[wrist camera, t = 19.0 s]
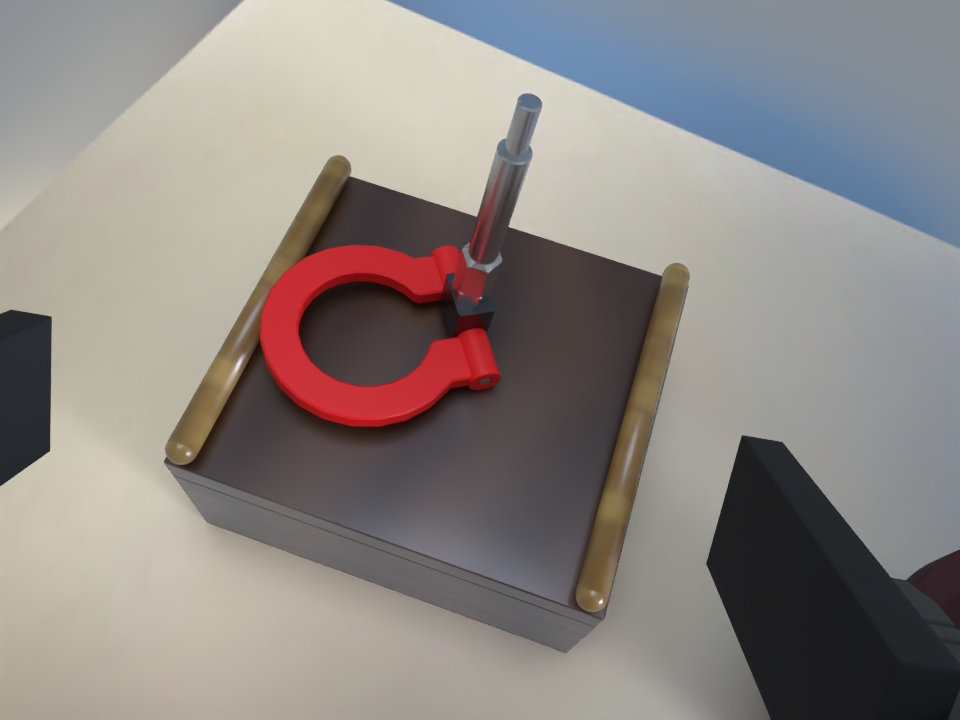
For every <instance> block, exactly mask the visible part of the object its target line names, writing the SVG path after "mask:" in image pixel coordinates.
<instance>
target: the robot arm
mask: <svg viewBox="0 0 960 720" xmlns="http://www.w3.org/2000/svg"><path fill="white" fill-rule="evenodd" d="M51 325H52V317H51V316H45V315H39V314H33V313H27V312H21V311H16V310H9V311H7V312H4V313H1V314H0V486H1V485H3V484H4V483H6V482H7V481H8V480H10V479H11V478H13V477H14V476H15V475H17V474H18V473H20V472H21V471H22V470H24V469H25V468H27V467H28V466H29V465H31V464H32V463H34V462H35V461H36V460H38V459H39V458H41V457H42V456H43V455H45V454H46V453H48V452H49V451H50V410H51ZM706 564H707V566H708V568H709V571H710V573H711V576H712V578H713V581H714V583H715V585H716V588H717V590H718V593H719V595H720V597H721V600H722V602H723V605H724V607H725V609H726V612H727V614H728V617H729V619H730V621H731V624H732V626H733V629H734V631H735V634H736V636H737V638H738V641H739V643H740V646H741V648H742V650H743V653H744V655H745V658H746V660H747V662H748V665H749V667H750V670H751V672H752V675H753V677H754V679H755V682H756V684H757V687H758V689H759V691H760V694H761V696H762V699H763V701H764V703H765V706H766V708H767V711H768V713H769V715H770V718H771V720H960V630H959V629H956V628H954V625H955V624H954V623H953V622H952V621H951V620H950V618H949V617H948V616H947V615H946V614H945V613H944V611H943V610H942V609H941V608H940V607H939V606H938V604H937V603H936V602H935V601H933V600H932V599H931V598H929V597H928V596H926V595H925V594H924V593H922V592H921V591H920V590H918V589H917V588H915V587H914V586H913V585H911V584H910V583H908V582H907V581H906V580H901V579H895V578H891V577H890V576H889V575H888V573H887V572H886V571H885V570H884V568H883V567H882V566H881V565H880V563H879V562H878V561H877V560H876V558H875V557H874V556H873V555H872V553H871V552H870V551H869V550H868V548H867V547H866V546H865V545H864V543H863V542H862V541H861V540H860V538H859V537H858V536H857V535H856V533H855V532H854V531H853V530H852V528H851V527H850V526H849V525H848V523H847V522H846V521H845V520H844V519H843V517H842V516H841V515H840V514H839V512H838V511H837V510H836V509H835V507H834V506H833V505H832V504H831V502H830V501H829V500H828V499H827V497H826V496H825V495H824V494H823V492H822V491H821V490H820V489H819V487H818V486H817V485H816V484H815V482H814V481H813V480H812V479H811V477H810V476H809V475H808V474H807V472H806V471H805V470H804V469H803V467H802V466H801V465H800V464H799V462H798V461H797V460H796V459H795V457H794V456H793V455H792V454H791V452H790V451H789V450H788V449H787V447H786V446H785V445H784V444H783V442H779V441H773V440H767V439H761V438H755V437H749V436H744V435H742V437H741V441H740V444H739V448H738V452H737V455H736V459H735V462H734V466H733V470H732V473H731V477H730V480H729V484H728V488H727V491H726V495H725V498H724V502H723V506H722V509H721V513H720V516H719V520H718V523H717V527H716V531H715V534H714V538H713V541H712V545H711V549H710V552H709V556H708V559H707V563H706Z"/></svg>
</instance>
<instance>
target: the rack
mask: <svg viewBox="0 0 960 720" xmlns="http://www.w3.org/2000/svg"><path fill="white" fill-rule="evenodd" d="M350 173H351V165H350V162H349V161H348V160H347V159H346V158H345V157H343V156H340V155H336V156H333V157H331V158H330V159H329V160H328V161H327V162H326V164H325V166H324V168H323V169H322V171H321V173H320V175H319V176H318V178H317V180H316V182H315V183H314V185H313V187H312V189H311V190H310V192H309V194H308V196H307V198H306V199H305V201H304V203H303V205H302V206H301V208H300V210H299V212H298V213H297V215H296V217H295V219H294V220H293V222H292V224H291V226H290V227H289V229H288V231H287V233H286V234H285V236H284V238H283V240H282V241H281V243H280V245H279V247H278V248H277V250H276V252H275V254H274V255H273V257H272V259H271V261H270V263H269V264H268V266H267V268H266V270H265V271H264V273H263V275H262V277H261V278H260V280H259V282H258V284H257V285H256V287H255V289H254V291H253V292H252V294H251V296H250V298H249V299H248V301H247V303H246V305H245V306H244V308H243V310H242V312H241V313H240V315H239V317H238V319H237V320H236V322H235V324H234V326H233V328H232V329H231V331H230V333H229V335H228V336H227V338H226V340H225V342H224V343H223V345H222V347H221V349H220V350H219V352H218V354H217V356H216V357H215V359H214V361H213V363H212V364H211V366H210V368H209V370H208V371H207V373H206V375H205V377H204V378H203V380H202V382H201V384H200V385H199V387H198V389H197V391H196V393H195V394H194V396H193V398H192V400H191V401H190V403H189V405H188V407H187V408H186V410H185V412H184V414H183V415H182V417H181V419H180V421H179V422H178V424H177V426H176V428H175V429H174V431H173V433H172V435H171V436H170V438H169V440H168V442H167V444H166V448H165V452H166V455H167V457H166V459H165V460H164V463H165V465H166V466H167V467H168V469H169V470H170V471H171V473H172V474H173V476H174V477H175V479H176V480H177V481H178V483H179V484H180V485H181V487H182V488H183V490H184V491H185V492H186V494H187V495H188V497H189V498H190V499H191V501H192V502H193V503H194V505H195V506H196V508H197V509H198V510H199V512H200V513H201V514H202V516H203V517H204V519H205V520H206V521H207V522H208V523H210V524H213V525H216V526H219V527H221V528H224V529H227V530H230V531H232V532H235V533H238V534H241V535H243V536H246V537H249V538H252V539H254V540H257V541H260V542H263V543H265V544H268V545H271V546H274V547H276V548H279V549H282V550H285V551H287V552H290V553H293V554H296V555H298V556H301V557H304V558H307V559H309V560H312V561H315V562H318V563H320V564H323V565H326V566H329V567H332V568H334V569H337V570H340V571H343V572H345V573H348V574H351V575H354V576H356V577H359V578H362V579H365V580H367V581H370V582H373V583H376V584H378V585H381V586H384V587H387V588H389V589H392V590H395V591H398V592H400V593H403V594H406V595H409V596H411V597H414V598H417V599H420V600H422V601H425V602H428V603H431V604H433V605H436V606H439V607H442V608H444V609H447V610H450V611H453V612H455V613H458V614H461V615H464V616H466V617H469V618H472V619H475V620H477V621H480V622H483V623H486V624H488V625H491V626H494V627H497V628H499V629H502V630H505V631H508V632H510V633H513V634H516V635H519V636H521V637H524V638H527V639H530V640H533V641H535V642H538V643H541V644H544V645H546V646H549V647H552V648H555V649H557V650H560V651H563V652H566V653H567V652H568V651H569V650H570V649H572V648H573V647H574V646H575V645H576V644H577V643H578V642H579V641H581V640H582V639H583V638H584V637H585V636H586V635H587V634H588V633H589V632H591V631H592V630H593V629H594V628H595V627H596V626H597V625H598V624H599V623H600V622H602V621H603V620H604V618H605V614H606V610H607V606H608V602H609V598H610V594H611V590H612V586H613V583H614V579H615V575H616V571H617V567H618V563H619V559H620V555H621V551H622V547H623V543H624V539H625V535H626V531H627V527H628V523H629V519H630V515H631V512H632V508H633V504H634V500H635V496H636V492H637V488H638V484H639V480H640V476H641V472H642V468H643V464H644V460H645V456H646V452H647V448H648V444H649V441H650V437H651V433H652V429H653V425H654V421H655V417H656V413H657V409H658V405H659V401H660V397H661V393H662V389H663V385H664V381H665V377H666V373H667V369H668V366H669V362H670V358H671V354H672V350H673V346H674V342H675V338H676V334H677V330H678V326H679V322H680V318H681V314H682V310H683V306H684V302H685V298H686V295H687V291H688V287H689V286H688V283H689V279H690V273H689V270H688V269H687V268H686V266H684V265H682V264H680V263H673V264H671V265H669V266H667V267H666V269H665V270H664V272H663V275H662V276H660V275H657V274H653V273H650V272H647V271H644V270H641V269H638V268H635V267H632V266H628V265H625V264H622V263H619V262H616V261H613V260H610V259H607V258H603V257H600V256H597V255H594V254H591V253H588V252H585V251H582V250H578V249H575V248H572V247H569V246H566V245H563V244H560V243H557V242H553V241H550V240H547V239H544V238H541V237H538V236H535V235H532V234H528V233H525V232H522V231H519V230H516V229H513V228H510V227H508V229H507V232H506V235H505V238H504V241H503V244H502V246H501V249H500V254H501V257H502V266H501V269H500V271H499V274H498V277H497V280H496V283H495V286H494V287H493V291H492V294H491V297H492V300H493V303H494V305H495V312H494V315H493V318H492V321H491V323H490V326H489V329H488V331H487V337H488V340H489V343H490V346H491V349H492V352H493V354H494V357H495V360H496V363H497V366H498V369H499V372H500V375H501V380H500V381H499V382H498V383H497V384H495V385H494V386H492V387H489V388H486V389H482V390H472V389H470V388H469V385H468V386H462V387H457V388H451V389H449V390H448V392H447V393H446V394H444V395H443V396H442V397H441V398H440V399H439V400H438V401H437V402H436V403H435V404H434V405H433V406H432V407H430V408H429V409H427V410H425V411H423V412H421V413H420V414H418V415H416V416H414V417H412V418H410V419H408V420H406V421H401V422H397V423H393V424H388V425H384V426H380V427H377V426H349V425H345V424H341V423H337V422H333V421H329V420H325V419H322V418H320V417H319V416H317V415H315V414H313V413H311V412H309V411H307V410H306V409H304V408H302V407H300V406H298V405H297V404H296V403H295V402H294V401H293V400H292V399H291V398H290V397H289V396H288V395H287V394H285V393H284V392H283V391H282V390H281V389H280V388H279V386H278V385H277V383H276V381H275V380H274V378H273V377H272V375H271V373H270V372H269V370H268V368H267V367H266V363H265V359H264V355H263V351H262V347H261V343H260V324H261V311H262V309H263V306H264V304H265V302H266V299H267V297H268V294H269V292H270V290H271V288H272V287H273V286H274V285H275V283H276V282H277V281H278V280H279V278H280V277H281V276H282V275H283V274H284V272H285V271H287V270H288V269H290V268H291V267H292V266H294V265H295V264H297V263H298V262H299V261H301V260H302V259H303V258H305V257H308V256H310V255H313V254H315V253H318V252H320V251H323V250H325V249H328V248H334V247H341V246H347V245H369V246H380V247H384V248H387V249H391V250H395V251H399V252H402V253H404V254H406V255H408V256H410V257H412V258H421V257H429V256H430V254H431V253H432V252H433V251H434V250H435V249H437V248H439V247H442V246H454V247H456V248H457V249H458V250H459V253H461V250H462V248H463V247H464V246H466V245H467V244H468V243H470V240H471V237H472V233H473V230H474V226H475V223H476V219H477V217H475V216H472V215H469V214H466V213H463V212H460V211H457V210H453V209H450V208H447V207H444V206H441V205H438V204H435V203H432V202H428V201H425V200H422V199H419V198H416V197H413V196H410V195H407V194H403V193H400V192H397V191H394V190H391V189H388V188H385V187H382V186H378V185H375V184H372V183H369V182H366V181H363V180H360V179H357V178H353V177H350ZM298 334H299V337H300V341H301V345H302V348H303V349H304V351H305V352H306V354H307V356H308V357H309V359H310V360H311V362H313V363H314V364H315V365H316V366H317V367H318V368H319V369H320V370H321V371H322V372H324V373H325V374H327V375H329V376H331V377H333V378H335V379H337V380H339V381H342V382H345V383H349V384H353V385H357V386H377V385H382V384H387V383H391V382H394V381H396V380H398V379H400V378H402V377H404V376H406V375H408V374H409V373H410V372H412V371H413V370H414V369H415V368H416V367H417V366H418V365H420V363H421V362H422V360H423V358H424V357H425V355H426V354H427V352H428V350H429V346H430V344H431V343H432V342H433V341H435V340H441V339H447V338H450V334H449V331H448V328H447V325H446V322H445V318H444V315H443V312H442V309H441V306H440V300H438V301H431V302H424V303H417V302H413V301H412V300H411V299H409V298H408V297H407V296H406V295H405V294H404V293H402V292H400V291H398V290H396V289H394V288H392V287H390V286H387V285H384V284H380V283H376V282H369V281H353V282H347V283H341V284H338V285H336V286H334V287H331V288H329V289H326V290H325V291H323V292H322V293H321V294H319V295H318V296H317V297H315V298H314V299H313V300H312V301H311V303H310V304H309V305H308V307H307V308H306V309H305V310H304V312H303V315H302V318H301V320H300V323H299V331H298Z"/></svg>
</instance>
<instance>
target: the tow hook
mask: <svg viewBox="0 0 960 720" xmlns="http://www.w3.org/2000/svg"><path fill="white" fill-rule="evenodd" d="M541 108H542V102H541V100H540V99H539V98H538V97H537V96H535V95H533V94H523V95H521V96H519V98H518V101H517V104H516V107H515V111H514V114H513V118H512V121H511V124H510V128H509V131H508V134H507V138H506V139H503V140H502V141H500V142H499V144H498V146H497V149H496V153H495V156H494V160H493V163H492V167H491V170H490V174H489V177H488V181H487V184H486V188H485V191H484V195H483V198H482V202H481V205H480V209H479V212H478V216H477V219H476V223H475V226H474V230H473V233H472V237H471V240H470V243H468V244H467V245H466V246H464V247H463V248H462V250H461V253H459V250H458V249H457V248H456V247H454V246H442V247H439V248H437V249H435V250H434V251H433V252H432V253H431V254H430V256H429V257H421V258H412V257H410V256H408V255H406V254H404V253H402V252H399V251H395V250H391V249H387V248H384V247H380V246H369V245H347V246H341V247H334V248H328V249H325V250H323V251H320V252H318V253H315V254H313V255H310V256H308V257H305V258H303V259H302V260H301V261H299V262H298V263H297V264H295V265H294V266H292V267H291V268H290V269H288V270H287V271H285V272H284V274H283V275H282V276H281V277H280V278H279V280H278V281H277V282H276V283H275V285H274V286H273V287H272V288H271V290H270V292H269V294H268V297H267V299H266V302H265V304H264V306H263V309H262V311H261V324H260V343H261V347H262V351H263V355H264V359H265V363H266V367H267V368H268V370H269V372H270V373H271V375H272V377H273V378H274V380H275V381H276V383H277V385H278V386H279V388H280V389H281V390H282V391H283V392H284V393H285V394H287V395H288V396H289V397H290V398H291V399H292V400H293V401H294V402H295V403H296V404H297V405H298V406H300V407H302V408H304V409H306V410H307V411H309V412H311V413H313V414H315V415H317V416H319V417H320V418H322V419H325V420H329V421H333V422H337V423H341V424H345V425H349V426H377V427H380V426H384V425H388V424H393V423H397V422H401V421H406V420H408V419H410V418H412V417H414V416H416V415H418V414H420V413H421V412H423V411H425V410H427V409H429V408H430V407H432V406H433V405H434V404H435V403H436V402H437V401H438V400H439V399H440V398H441V397H442V396H443V395H444V394H446V393H447V392H448V390H449V389H451V388H457V387H462V386H468V385H469V388H470V389H472V390H482V389H486V388H489V387H492V386H494V385H495V384H497V383H498V382H499V381H500V380H501V375H500V372H499V369H498V366H497V363H496V360H495V357H494V354H493V352H492V349H491V346H490V343H489V340H488V337H487V331H488V329H489V326H490V323H491V321H492V318H493V315H494V312H495V305H494V303H493V300H492V297H491V294H492V291H493V287H494V286H495V283H496V280H497V277H498V274H499V271H500V269H501V266H502V257H501V254H500V249H501V246H502V244H503V241H504V238H505V235H506V232H507V229H508V226H509V223H510V220H511V217H512V214H513V211H514V208H515V205H516V203H517V200H518V197H519V194H520V191H521V188H522V185H523V182H524V179H525V176H526V173H527V170H528V167H529V164H530V162H531V159H532V150H531V148H530V146H529V145H530V142H531V139H532V136H533V133H534V129H535V126H536V123H537V120H538V117H539V114H540V111H541ZM353 281H369V282H376V283H380V284H384V285H387V286H390V287H392V288H394V289H396V290H398V291H400V292H402V293H404V294H405V295H406V296H407V297H408V298H409V299H411V300H412V301H413V302H417V303H424V302H431V301H438V300H440V306H441V309H442V312H443V315H444V318H445V322H446V325H447V328H448V331H449V334H450V338H447V339H441V340H435V341H433V342H432V343H431V344H430V346H429V350H428V352H427V354H426V355H425V357H424V358H423V360H422V362H421V363H420V365H418V366H417V367H416V368H415V369H414V370H413V371H412V372H410V373H409V374H408V375H406V376H404V377H402V378H400V379H398V380H396V381H394V382H391V383H387V384H382V385H377V386H357V385H353V384H349V383H345V382H342V381H339V380H337V379H335V378H333V377H331V376H329V375H327V374H325V373H324V372H322V371H321V370H320V369H319V368H318V367H317V366H316V365H315V364H314V363H313V362H311V360H310V359H309V357H308V356H307V354H306V352H305V351H304V349H303V348H302V345H301V341H300V337H299V334H298V331H299V323H300V320H301V318H302V315H303V312H304V310H305V309H306V308H307V307H308V305H309V304H310V303H311V301H312V300H313V299H314V298H315V297H317V296H318V295H319V294H321V293H322V292H323V291H325V290H326V289H329V288H331V287H334V286H336V285H338V284H341V283H347V282H353Z"/></svg>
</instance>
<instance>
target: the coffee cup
mask: <svg viewBox="0 0 960 720" xmlns="http://www.w3.org/2000/svg"><path fill="white" fill-rule="evenodd" d="M906 581H907V582H908V583H910V584H911V585H913V586H914V587H915V588H917V589H918V590H920V591H921V592H922V593H924V594H925V595H926V596H928V597H929V598H931V599H932V600H933V601H935V602H936V603H937V604H938V606H939V607H940V608H941V609H942V610H943V611H944V613H945V614H946V615H947V616H948V617H949V618H950V620H951V621H952V622H953V623H954V624H955V625H954V628H956V629H959V630H960V550H958V551H956V552H953V553H951V554H949V555H946V556H944V557H942V558H940V559H938V560H935V561H933V562H931V563H929V564H927V565H925V566H924V567H922V568H921V569H919V570H918V571H916V572H915V573H914V574H913V575H912V576H910V577H909V578H908V579H907V580H906Z"/></svg>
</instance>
